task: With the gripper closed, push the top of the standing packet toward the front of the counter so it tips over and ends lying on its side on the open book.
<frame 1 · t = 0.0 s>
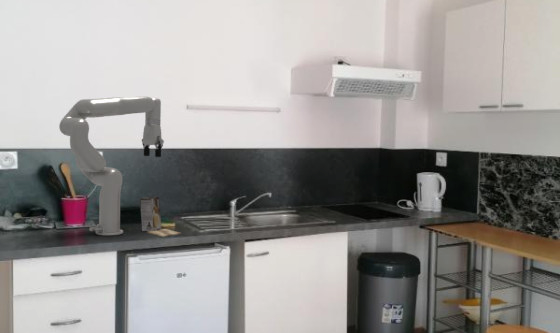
hand: (152, 156, 270), 37 cm above the counter, tool pointing down, fingers open, 9 cm apart
open book: (163, 233, 259), on the counter
coffee box: (151, 229, 266), on the counter, touching open book
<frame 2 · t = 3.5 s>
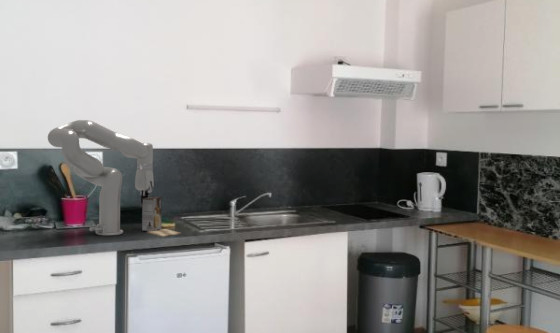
hand: (144, 203, 269), 13 cm above the counter, tool pointing down, fingers closed
coffee box: (151, 229, 266), on the counter, touching open book
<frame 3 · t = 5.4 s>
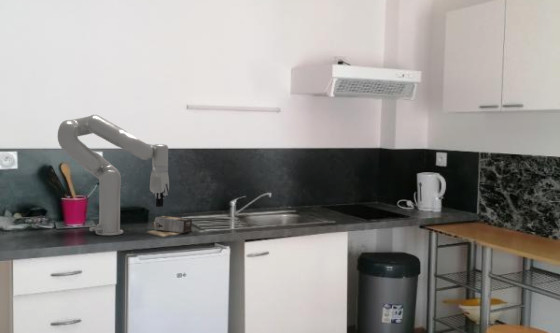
hand: (159, 206, 261), 13 cm above the counter, tool pointing down, fingers closed
coffee box: (158, 222, 266), point 4 cm above the counter, touching open book
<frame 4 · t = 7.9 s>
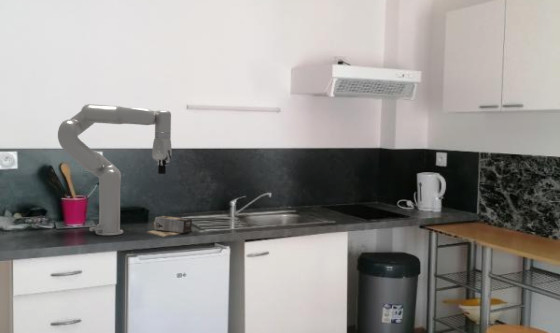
hand: (161, 173, 259), 29 cm above the counter, tool pointing down, fingers closed
nothing on the counter moved.
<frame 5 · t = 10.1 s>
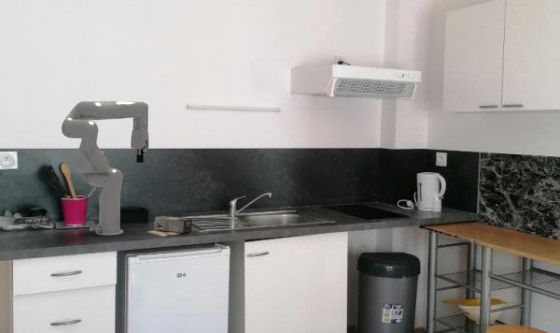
hand: (140, 162, 274), 33 cm above the counter, tool pointing down, fingers closed
nothing on the counter moved.
at the end: coffee box tilted 92°; coffee box touching open book, counter; coffee box inside the target area (3.1 cm from its centre), point 4.0 cm above the counter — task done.
